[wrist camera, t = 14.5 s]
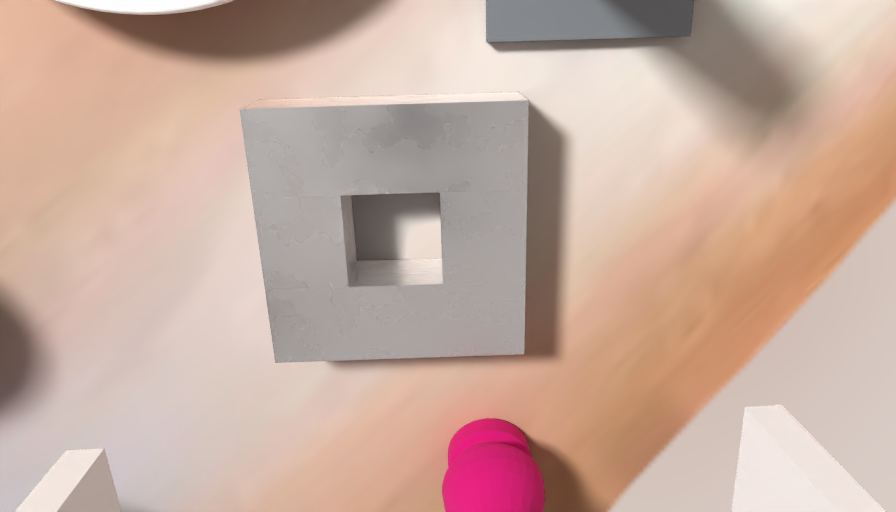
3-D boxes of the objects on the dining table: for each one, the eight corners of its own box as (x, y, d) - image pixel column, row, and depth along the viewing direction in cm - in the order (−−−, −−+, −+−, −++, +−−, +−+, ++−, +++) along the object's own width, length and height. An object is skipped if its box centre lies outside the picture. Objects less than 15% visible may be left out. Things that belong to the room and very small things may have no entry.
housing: (290, 330, 45) (275, 362, 40) (260, 99, 39) (239, 108, 35) (515, 322, 45) (524, 354, 41) (518, 91, 39) (528, 100, 35)
